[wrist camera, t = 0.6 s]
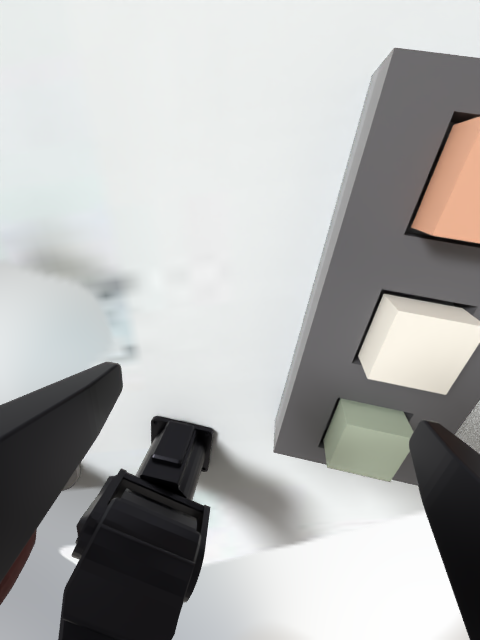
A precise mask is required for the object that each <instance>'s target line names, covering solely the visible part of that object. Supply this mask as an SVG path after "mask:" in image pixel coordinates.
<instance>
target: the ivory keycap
mask: <svg viewBox="0 0 480 640" xmlns="http://www.w3.org/2000/svg"><path fill="white" fill-rule="evenodd" d="M479 343H480V321H479V320H478V319H476V318H475V317H474V316H472V315H471V314H470V313H468V312H467V311H466V310H464V309H463V308H459V307H454V306H448V305H443V304H437V303H432V302H427V301H421V300H416V299H410V298H405V297H399V296H394V295H389V294H383V296H382V299H381V301H380V304H379V306H378V309H377V311H376V313H375V316H374V318H373V321H372V323H371V326H370V328H369V330H368V333H367V335H366V338H365V340H364V343H363V345H362V347H361V350H360V352H359V355H358V357H359V359H360V362H361V364H362V367H363V369H364V372H365V374H366V377H367V379H371V380H376V381H381V382H386V383H391V384H395V385H400V386H405V387H410V388H415V389H420V390H425V391H429V392H434V393H439V394H444V395H446V394H447V393H448V391H449V390H450V388H451V386H452V385H453V383H454V382H455V380H456V379H457V377H458V376H459V374H460V372H461V371H462V369H463V368H464V366H465V365H466V363H467V362H468V360H469V358H470V357H471V355H472V354H473V352H474V351H475V349H476V348H477V346H478V344H479Z"/></svg>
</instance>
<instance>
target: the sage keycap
mask: <svg viewBox="0 0 480 640" xmlns="http://www.w3.org/2000/svg"><path fill="white" fill-rule="evenodd" d="M412 434H413V430H412V428H411V426H410V424H409V422H408V420H407V418H406V416H405V414H404V412H403V411H398V410H393V409H389V408H384V407H379V406H375V405H370V404H365V403H360V402H356V401H351V400H346V399H342V398H340V401H339V403H338V406H337V408H336V410H335V413H334V415H333V418H332V420H331V423H330V425H329V427H328V430H327V432H326V435H325V437H324V440H323V441H324V448H325V455H326V463H327V468H331V469H336V470H340V471H345V472H349V473H353V474H358V475H362V476H366V477H371V478H375V479H379V480H384V481H388V482H390V481H391V480H392V478H393V477H394V475H395V473H396V472H397V470H398V469H399V467H400V466H401V464H402V463H403V461H404V459H405V458H406V456H407V455H408V453H409V452H410V449H409V440H410V438H411V436H412Z"/></svg>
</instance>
